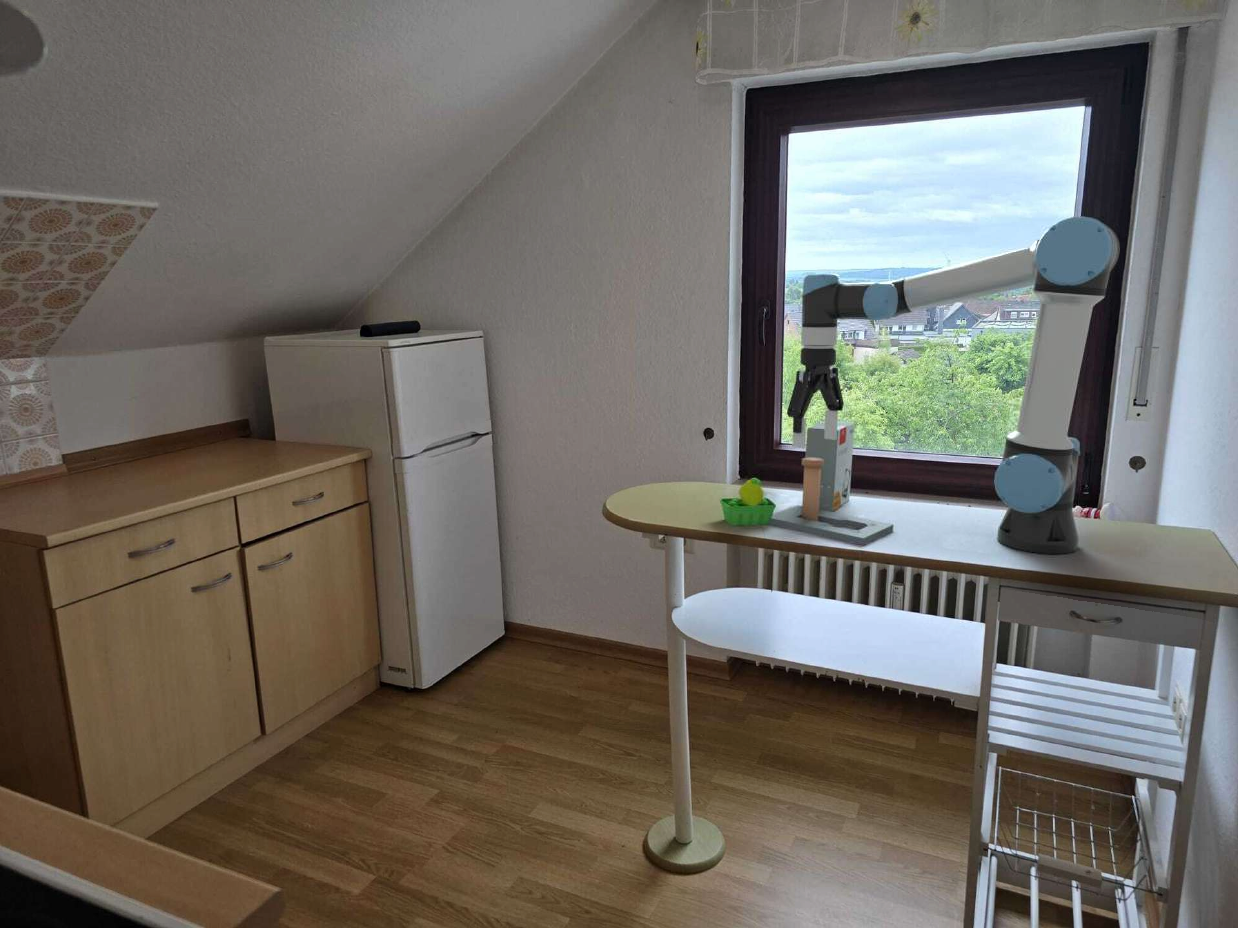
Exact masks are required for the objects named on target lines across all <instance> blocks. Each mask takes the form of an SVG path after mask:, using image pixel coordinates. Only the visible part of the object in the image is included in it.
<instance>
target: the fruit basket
mask: <svg viewBox="0 0 1238 928" xmlns="http://www.w3.org/2000/svg"><path fill="white" fill-rule="evenodd" d="M738 494H739V496H740V497H735V498H734V497H732V498H731V497H729V498H720V499H719V501H720V504H721V508H722V513H723V517H724V520H725V521H726V522H727V523H728V524H729V525H730V526H748V525H749V526H752V525H769V524H768V522H769V519H770V518H771V517H772V514H774V510H775V509H776V507H777V504H775V503H774V502H773V501H772V500H771V499H769V498H768V497H764V496H765V495H764V490H763V488H762V484H761V480H760V479H758V478H756V477H752V478H750V479H749V480H747V481H746V482H745V483H743V485H742V486H740V489H739V490H738Z"/></svg>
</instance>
